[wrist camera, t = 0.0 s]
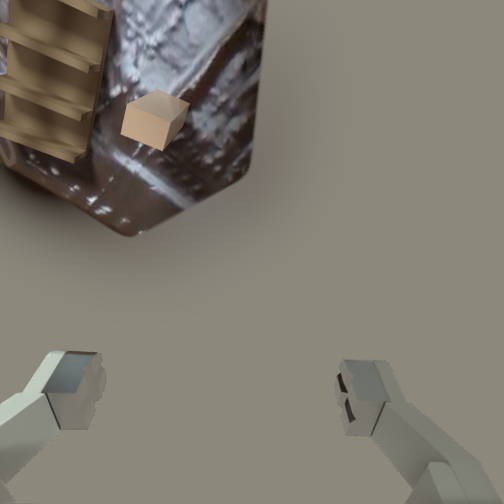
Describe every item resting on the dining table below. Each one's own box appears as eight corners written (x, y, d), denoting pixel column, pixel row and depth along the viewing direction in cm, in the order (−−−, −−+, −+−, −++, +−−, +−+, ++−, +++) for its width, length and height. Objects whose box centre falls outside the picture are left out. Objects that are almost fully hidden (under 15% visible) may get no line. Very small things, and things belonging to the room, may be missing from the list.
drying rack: (114, 10, 45) (98, 6, 41) (88, 155, 55) (73, 165, 51) (18, -35, 43) (-10, -45, 38) (9, 125, 53) (-14, 132, 48)
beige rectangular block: (190, 103, 52) (170, 122, 39) (183, 125, 53) (162, 151, 40) (157, 89, 51) (127, 103, 38) (152, 112, 52) (120, 134, 39)
